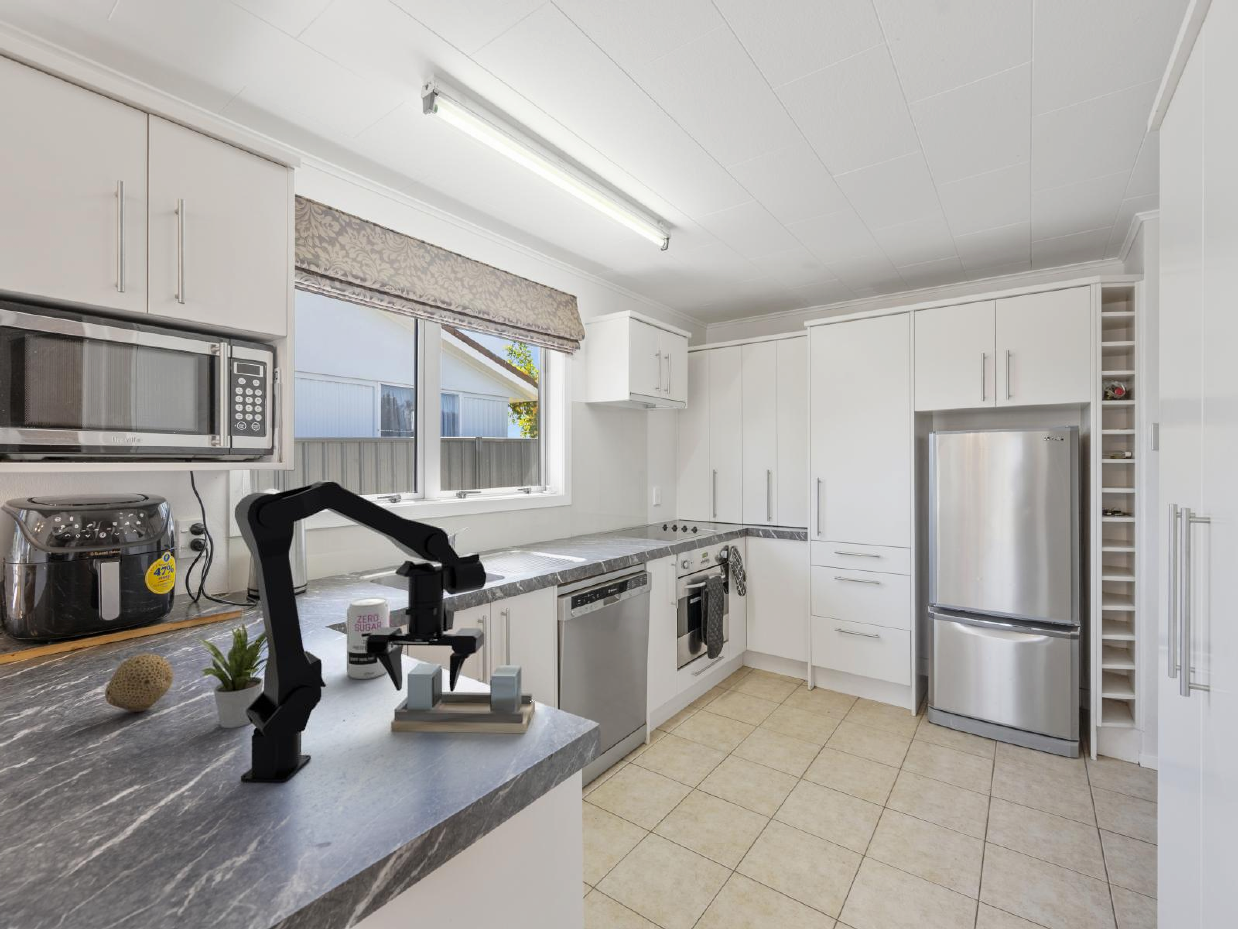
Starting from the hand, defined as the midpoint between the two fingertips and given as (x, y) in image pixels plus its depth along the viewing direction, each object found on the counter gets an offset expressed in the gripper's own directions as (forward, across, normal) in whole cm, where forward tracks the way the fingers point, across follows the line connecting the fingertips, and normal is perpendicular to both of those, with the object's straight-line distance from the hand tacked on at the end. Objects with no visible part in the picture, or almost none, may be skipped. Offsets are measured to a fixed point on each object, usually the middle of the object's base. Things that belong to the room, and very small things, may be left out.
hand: (425, 690), depth 98 cm
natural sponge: (+5, +51, -1) cm, 51 cm away
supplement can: (+5, +20, -21) cm, 29 cm away
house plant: (+5, +30, +2) cm, 31 cm away
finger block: (+3, 0, 0) cm, 3 cm away
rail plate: (+5, -7, 0) cm, 9 cm away
